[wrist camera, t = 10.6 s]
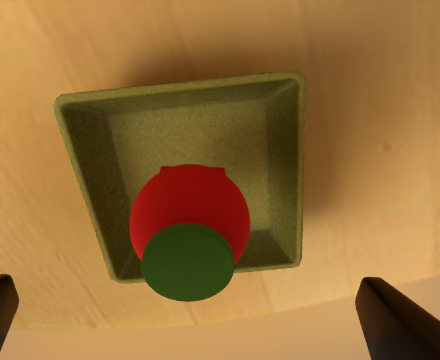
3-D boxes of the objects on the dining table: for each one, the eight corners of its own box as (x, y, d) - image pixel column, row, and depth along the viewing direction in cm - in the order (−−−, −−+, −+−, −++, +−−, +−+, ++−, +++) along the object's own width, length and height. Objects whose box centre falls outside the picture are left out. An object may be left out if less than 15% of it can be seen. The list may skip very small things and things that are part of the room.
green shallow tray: (121, 256, 17) (111, 286, 15) (69, 83, 13) (46, 96, 11) (291, 239, 17) (301, 267, 15) (292, 60, 13) (307, 68, 11)
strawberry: (239, 235, 14) (252, 318, 10) (144, 234, 14) (121, 318, 10) (248, 147, 12) (267, 209, 8) (137, 144, 12) (106, 206, 8)
